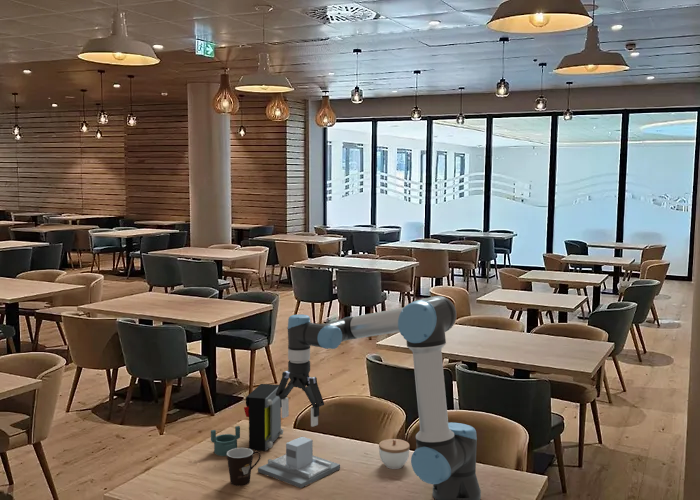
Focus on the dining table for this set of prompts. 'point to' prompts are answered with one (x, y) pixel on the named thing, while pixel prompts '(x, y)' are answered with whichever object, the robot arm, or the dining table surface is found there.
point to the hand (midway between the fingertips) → (299, 421)
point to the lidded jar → (394, 453)
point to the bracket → (225, 441)
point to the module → (299, 452)
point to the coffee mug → (240, 465)
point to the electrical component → (263, 417)
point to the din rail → (304, 471)
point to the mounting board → (294, 478)
